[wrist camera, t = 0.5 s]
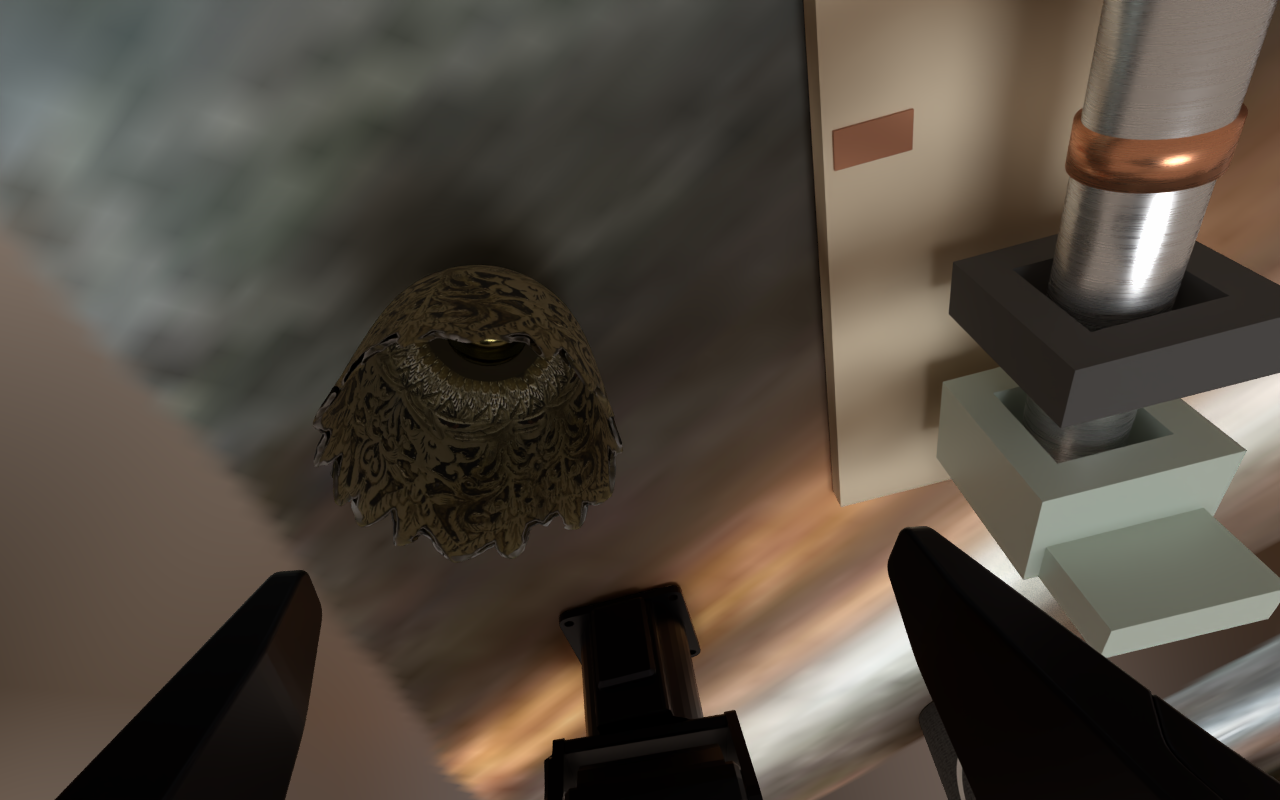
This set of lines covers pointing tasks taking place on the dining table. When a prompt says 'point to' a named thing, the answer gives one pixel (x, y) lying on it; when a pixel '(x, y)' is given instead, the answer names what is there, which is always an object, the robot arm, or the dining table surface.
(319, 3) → the dining table surface
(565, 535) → the dining table surface
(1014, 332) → the rubber collar
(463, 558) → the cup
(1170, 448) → the sleeve
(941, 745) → the coffee cup
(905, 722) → the dining table surface
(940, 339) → the base board
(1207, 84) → the steel pipe
